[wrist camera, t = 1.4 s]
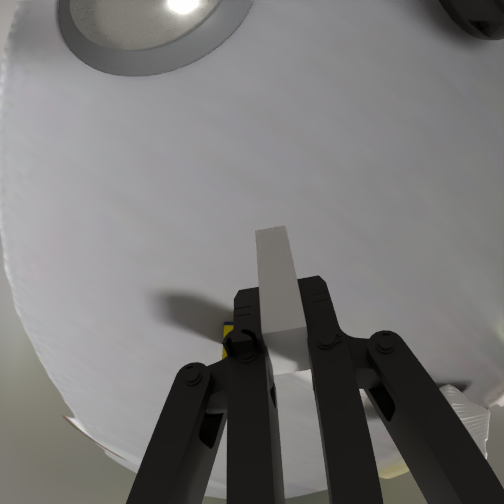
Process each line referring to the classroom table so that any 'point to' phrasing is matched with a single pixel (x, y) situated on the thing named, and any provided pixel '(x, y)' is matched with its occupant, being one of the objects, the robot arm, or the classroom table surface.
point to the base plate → (159, 59)
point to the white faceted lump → (469, 415)
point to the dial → (139, 21)
